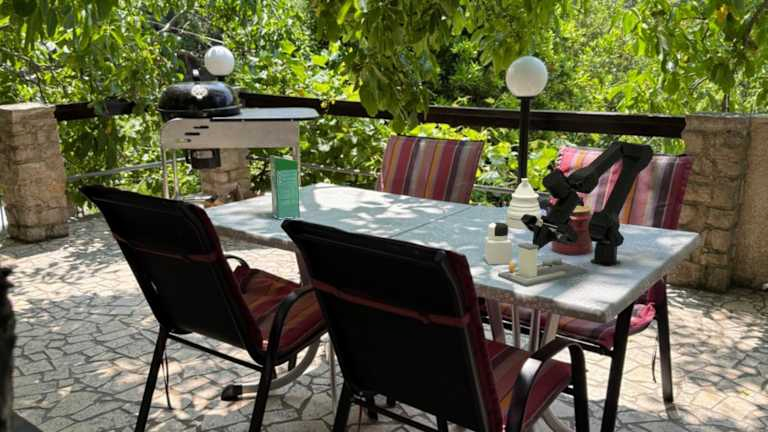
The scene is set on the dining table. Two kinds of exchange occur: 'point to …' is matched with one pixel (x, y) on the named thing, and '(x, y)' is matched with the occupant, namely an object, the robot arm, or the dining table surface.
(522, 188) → the honey pot
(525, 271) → the fader tab
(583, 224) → the canister
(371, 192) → the dining table surface
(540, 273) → the console
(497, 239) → the medicine bottle
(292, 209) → the milk carton
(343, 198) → the dining table surface
